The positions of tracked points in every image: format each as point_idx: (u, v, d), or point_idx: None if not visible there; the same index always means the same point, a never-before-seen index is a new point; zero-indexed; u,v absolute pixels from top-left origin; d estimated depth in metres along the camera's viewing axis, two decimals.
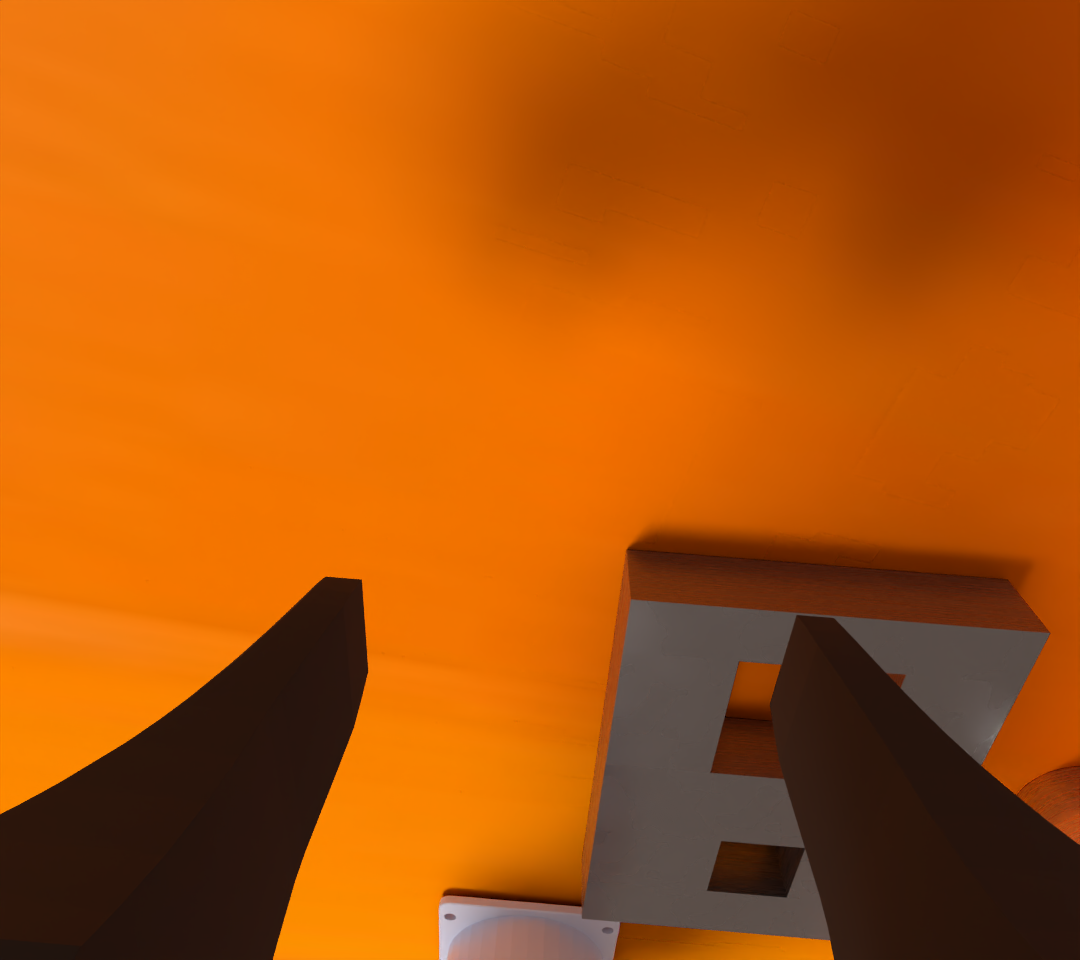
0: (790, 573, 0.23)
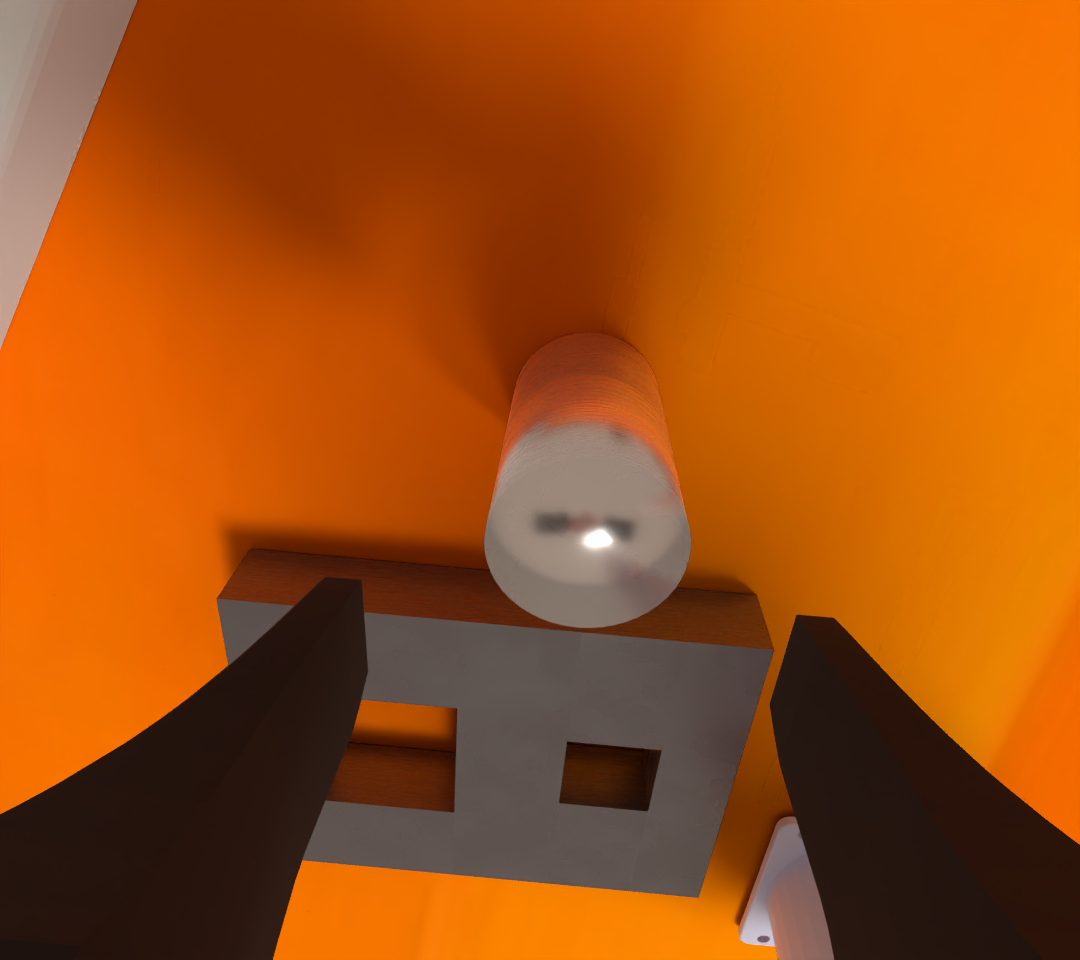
0: None
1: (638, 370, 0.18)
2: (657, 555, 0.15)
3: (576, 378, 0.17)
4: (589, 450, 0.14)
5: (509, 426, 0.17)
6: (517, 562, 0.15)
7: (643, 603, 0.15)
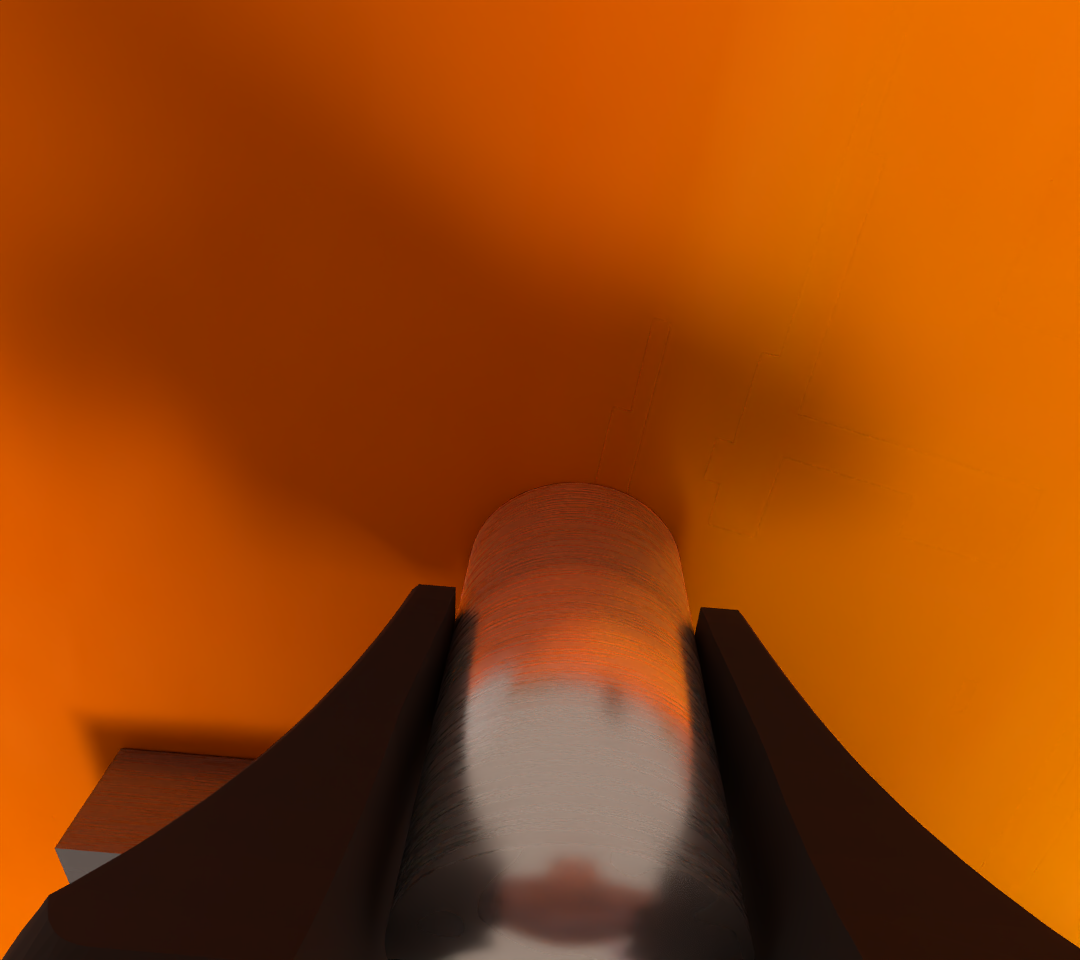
0: None
1: (651, 555, 0.12)
2: None
3: (552, 595, 0.11)
4: (568, 821, 0.07)
5: (448, 666, 0.11)
6: None
7: None
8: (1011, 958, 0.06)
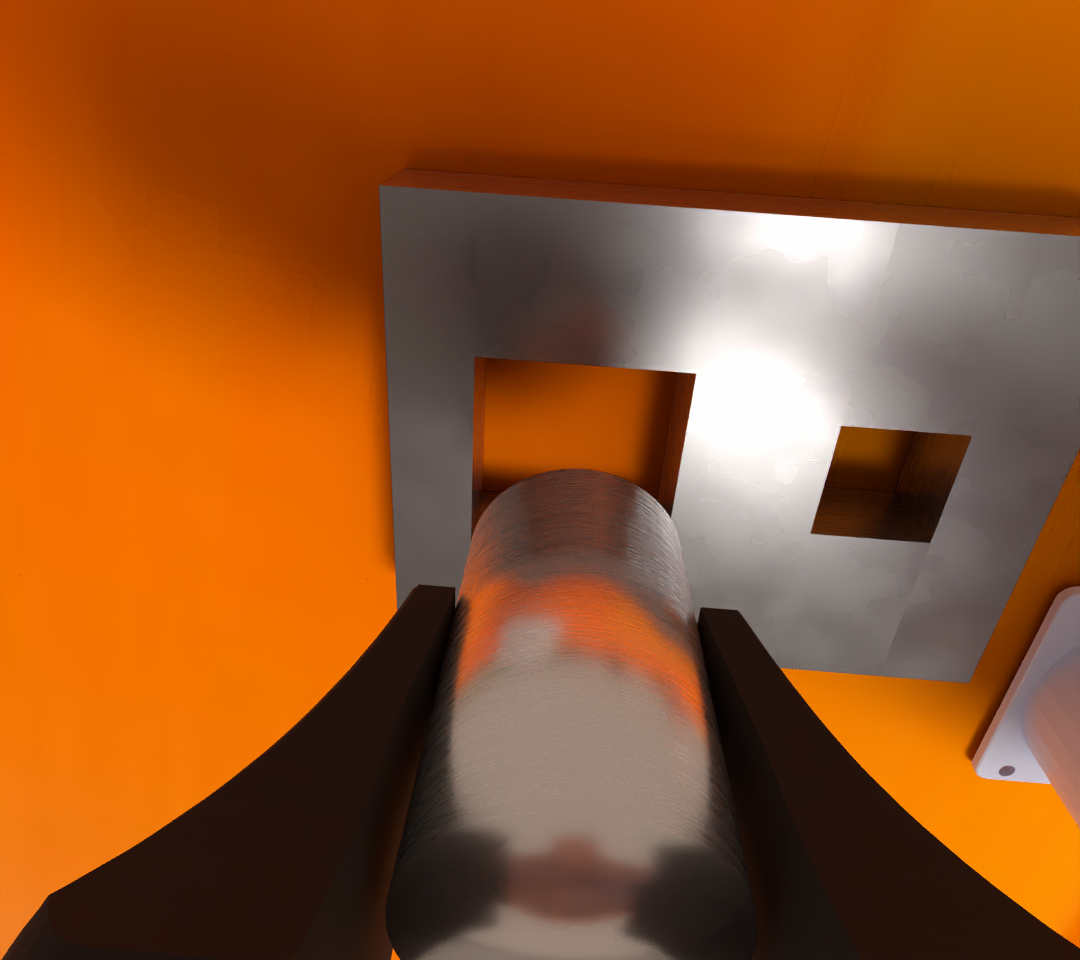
0: None
1: (659, 544, 0.12)
2: (696, 953, 0.08)
3: (564, 573, 0.11)
4: (585, 788, 0.07)
5: (453, 640, 0.11)
6: (443, 944, 0.08)
7: None
8: (1011, 958, 0.06)
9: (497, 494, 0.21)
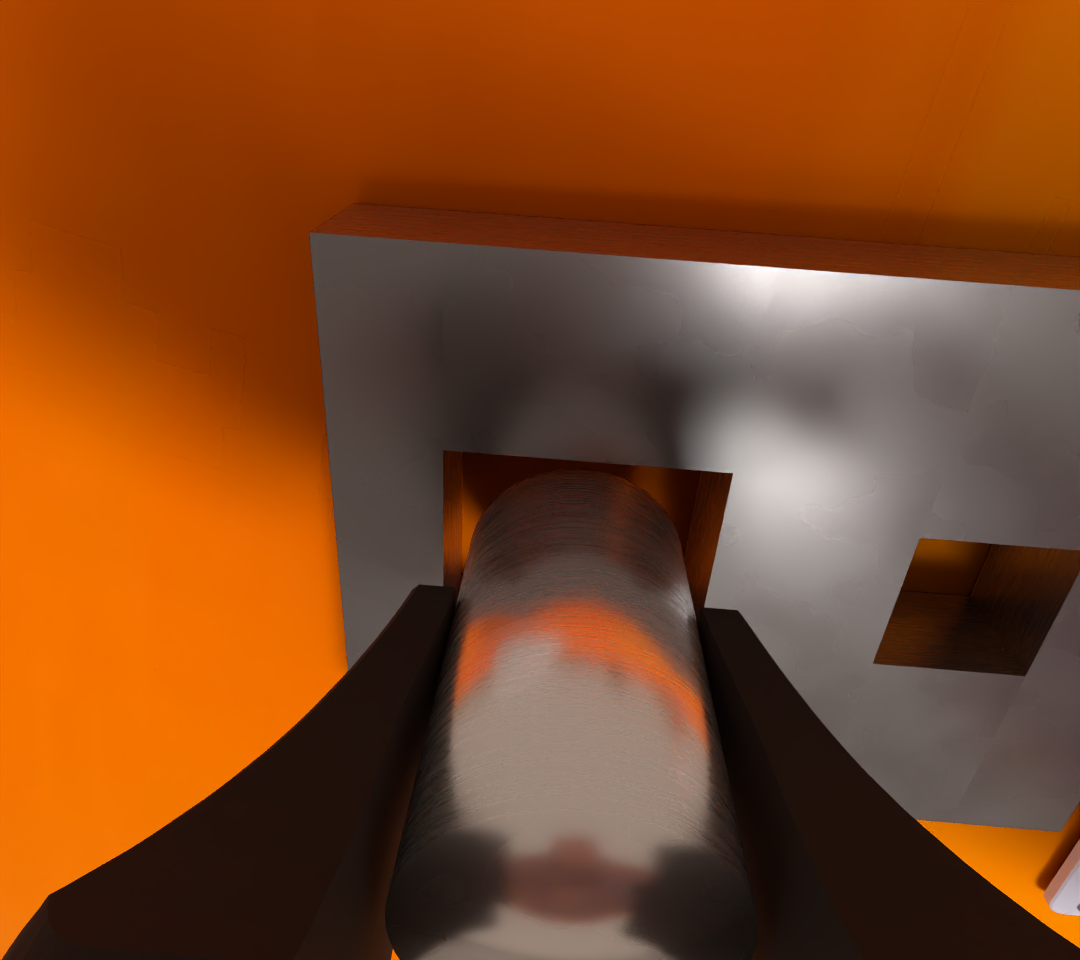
0: None
1: (659, 544, 0.12)
2: (696, 953, 0.08)
3: (564, 573, 0.11)
4: (585, 789, 0.07)
5: (453, 640, 0.11)
6: (443, 945, 0.08)
7: None
8: (1010, 957, 0.06)
9: None
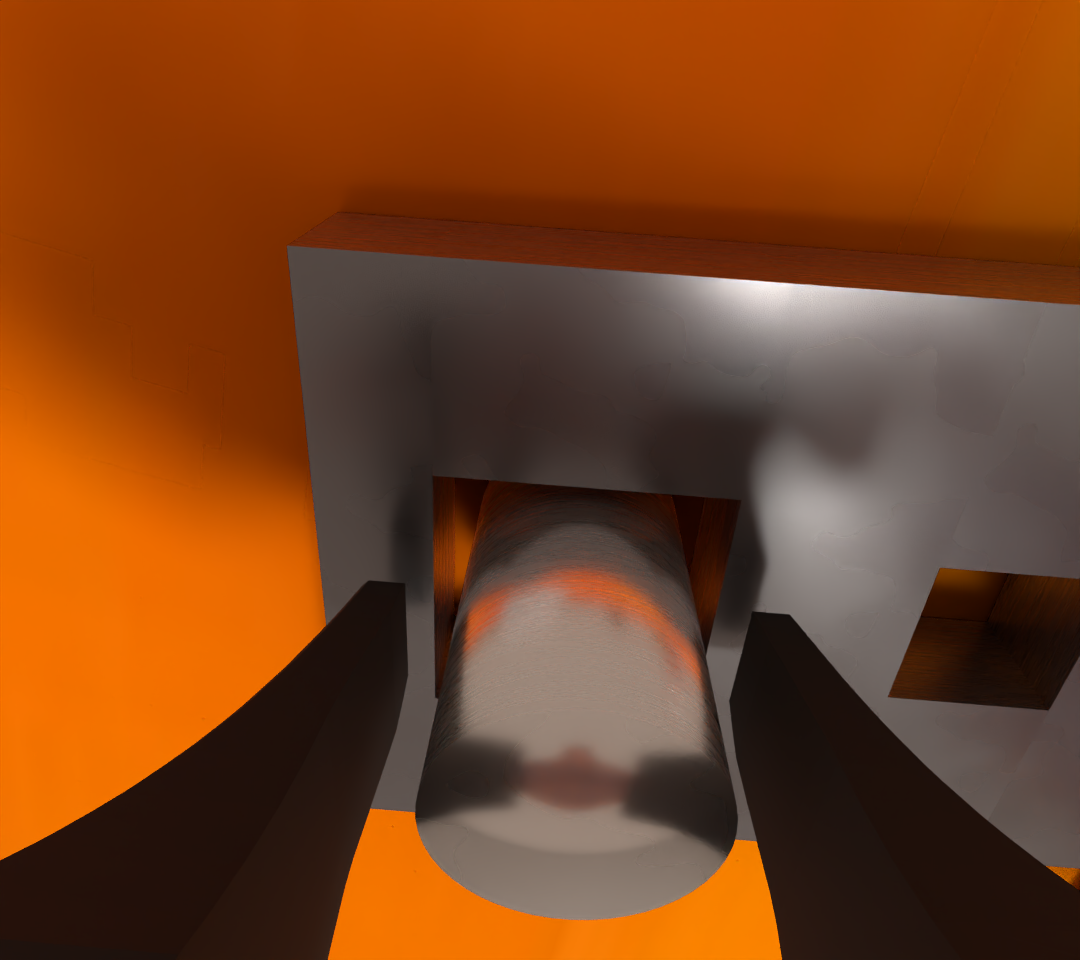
0: None
1: (654, 501, 0.13)
2: (684, 840, 0.09)
3: (569, 523, 0.12)
4: (589, 693, 0.09)
5: (469, 584, 0.12)
6: (465, 836, 0.10)
7: (654, 896, 0.10)
8: None
9: None
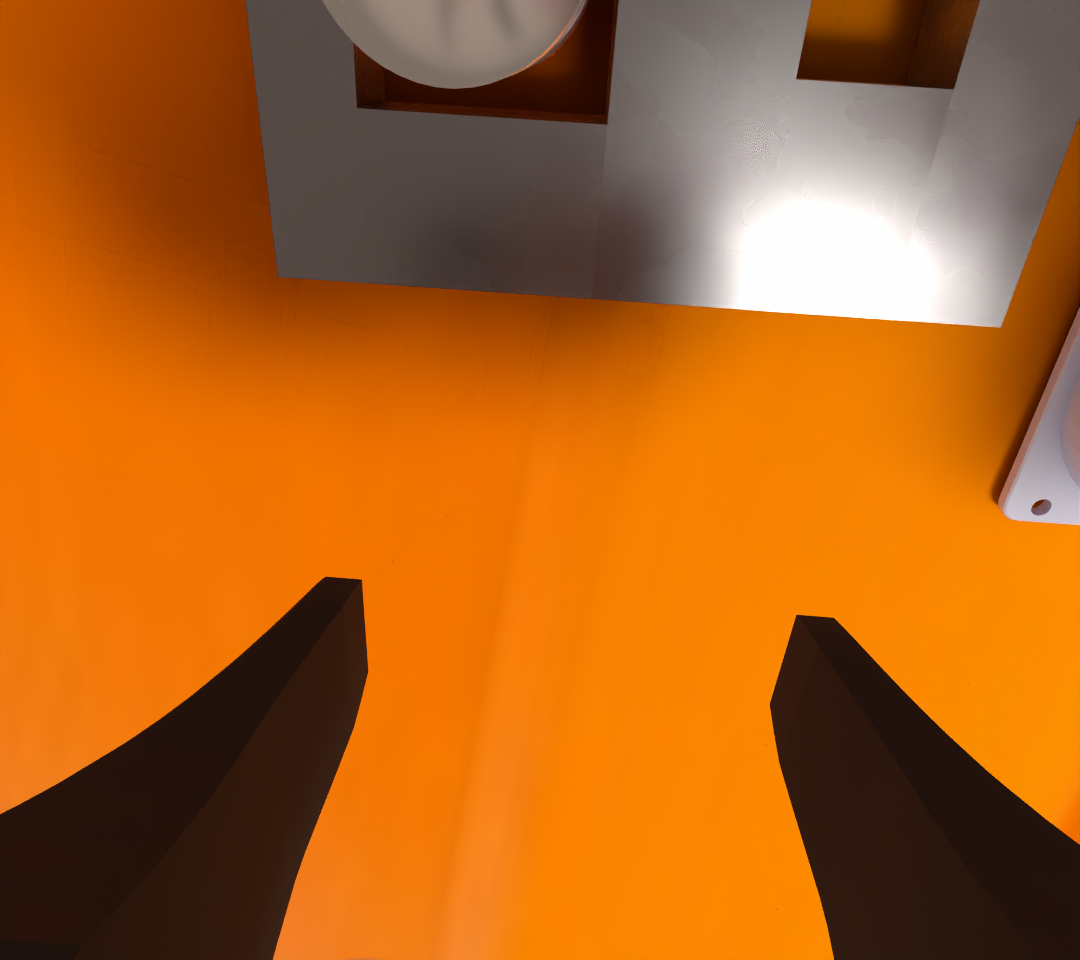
0: None
1: None
2: None
3: None
4: None
5: None
6: None
7: (531, 39, 0.10)
8: None
9: (403, 102, 0.17)
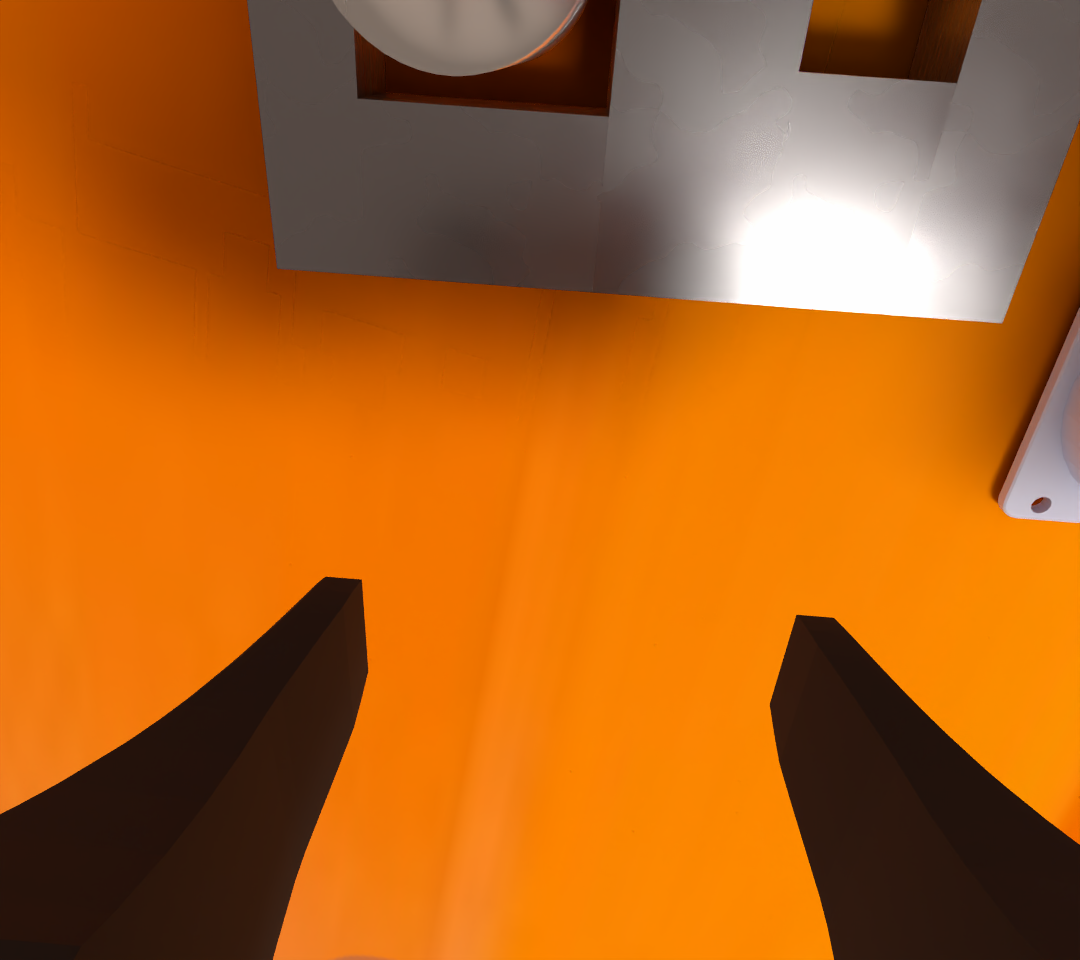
0: None
1: None
2: None
3: None
4: None
5: None
6: None
7: (533, 26, 0.10)
8: None
9: (404, 94, 0.17)
